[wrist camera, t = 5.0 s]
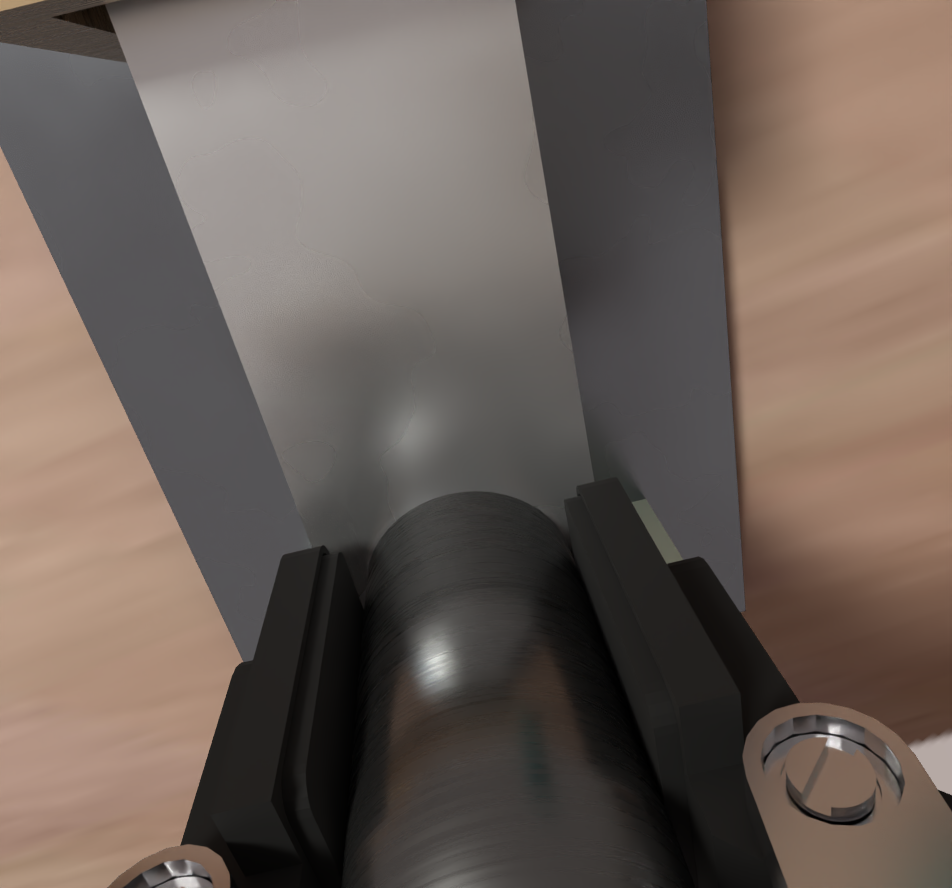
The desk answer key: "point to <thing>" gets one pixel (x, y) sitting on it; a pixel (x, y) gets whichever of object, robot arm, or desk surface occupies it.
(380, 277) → the grey slider block
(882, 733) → the robot arm
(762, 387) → the desk surface
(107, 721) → the desk surface
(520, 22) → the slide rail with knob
